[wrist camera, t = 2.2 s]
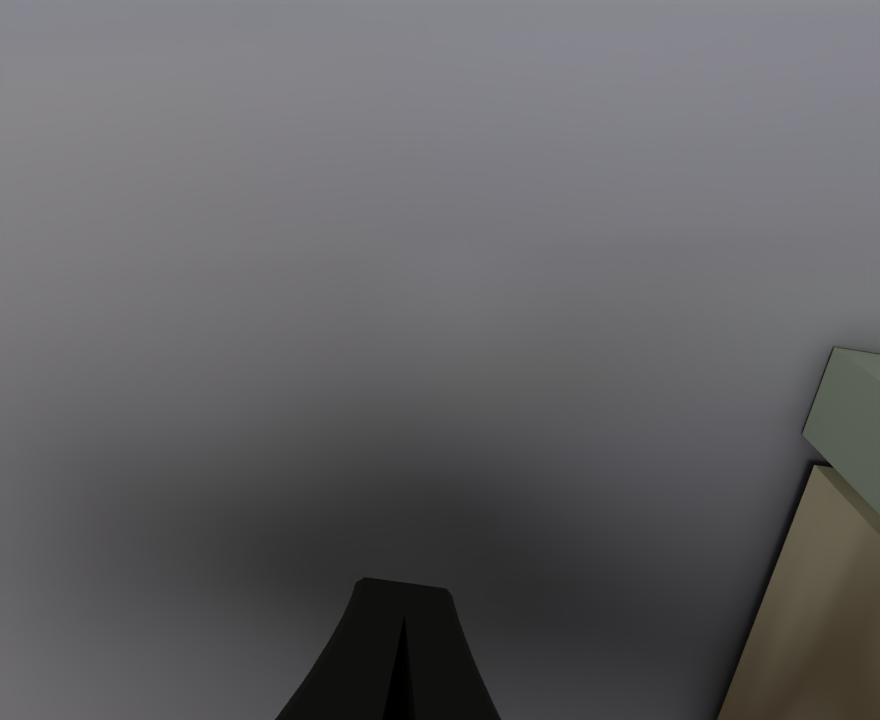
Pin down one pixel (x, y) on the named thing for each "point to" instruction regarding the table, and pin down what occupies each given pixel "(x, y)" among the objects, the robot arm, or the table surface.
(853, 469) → the rails
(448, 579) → the table surface
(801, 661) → the birch block
